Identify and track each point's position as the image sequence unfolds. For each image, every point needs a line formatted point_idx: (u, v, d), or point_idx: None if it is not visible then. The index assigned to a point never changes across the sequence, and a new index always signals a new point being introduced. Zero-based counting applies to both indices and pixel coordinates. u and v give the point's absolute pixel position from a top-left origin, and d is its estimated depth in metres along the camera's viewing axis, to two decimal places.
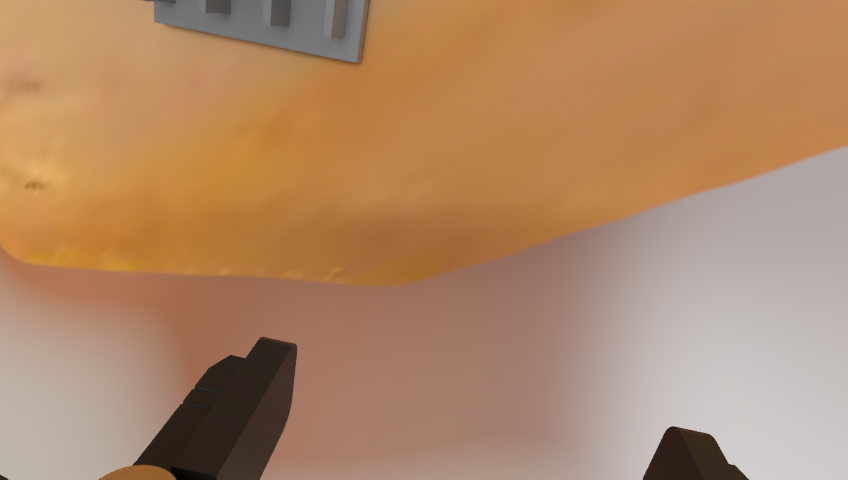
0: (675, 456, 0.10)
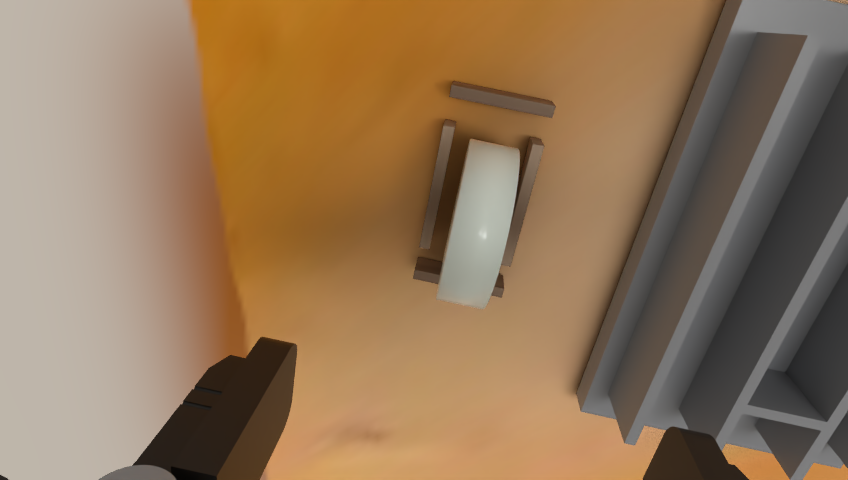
0: (675, 456, 0.10)
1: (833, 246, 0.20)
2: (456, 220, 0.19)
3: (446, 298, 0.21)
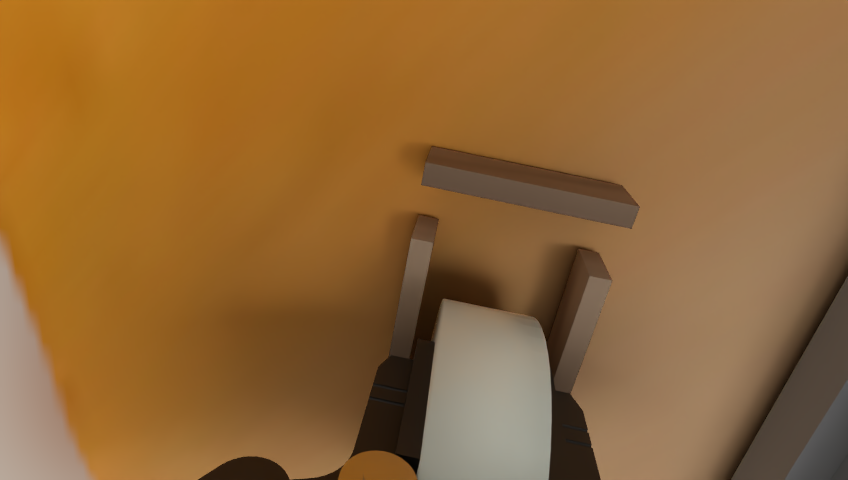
0: None
1: None
2: None
3: None
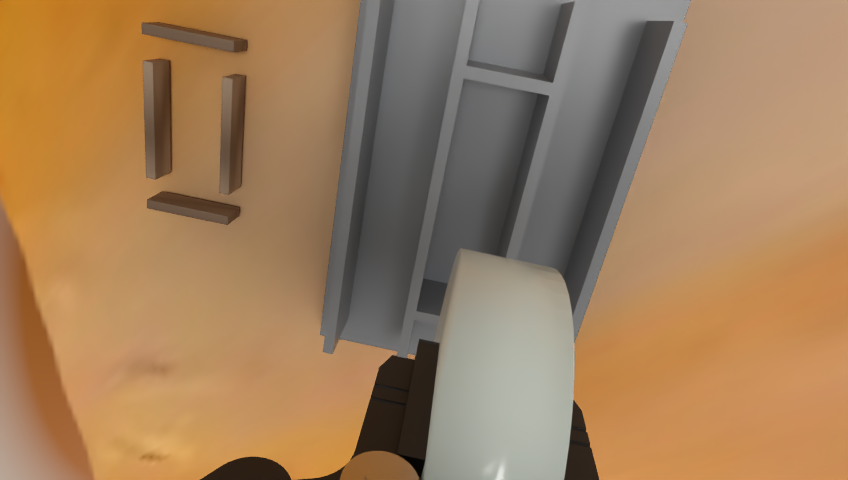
0: None
1: (446, 157, 0.22)
2: None
3: None
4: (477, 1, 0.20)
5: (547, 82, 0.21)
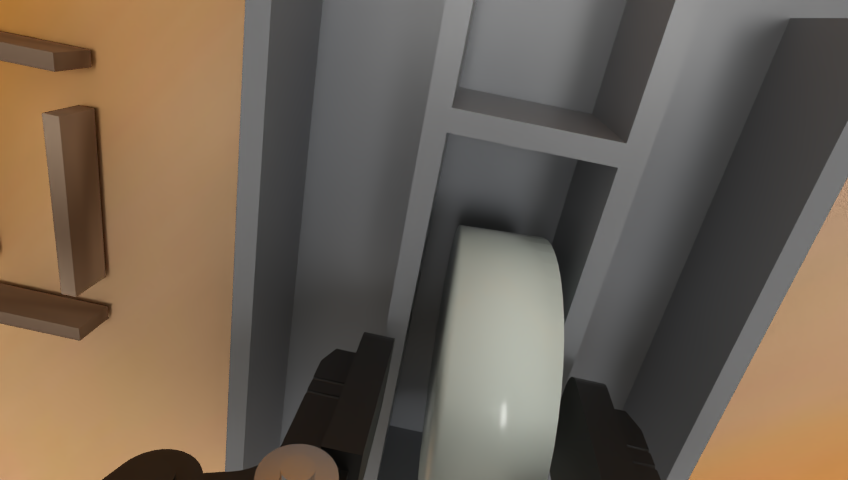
0: (570, 403, 0.11)
1: (416, 274, 0.12)
2: (439, 458, 0.09)
3: None
4: None
5: (614, 141, 0.10)
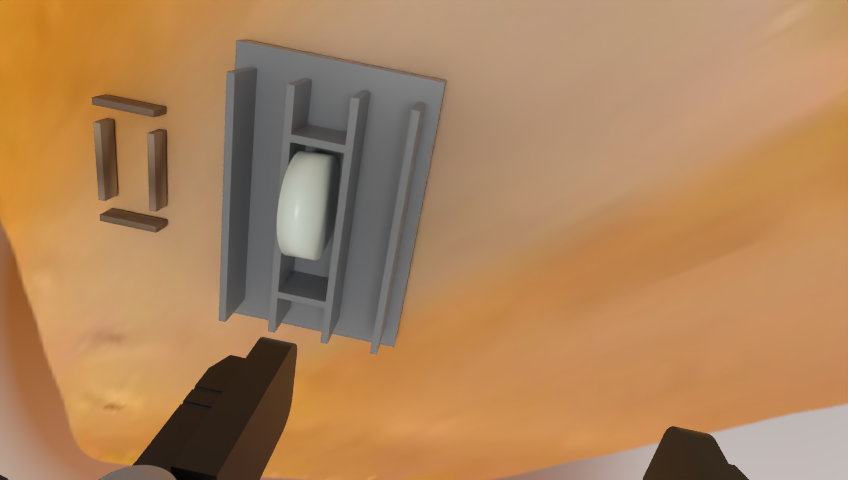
0: (675, 456, 0.10)
1: None
2: (282, 185, 0.31)
3: (284, 245, 0.33)
4: (292, 96, 0.32)
5: (342, 144, 0.33)
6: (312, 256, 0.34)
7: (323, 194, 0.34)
